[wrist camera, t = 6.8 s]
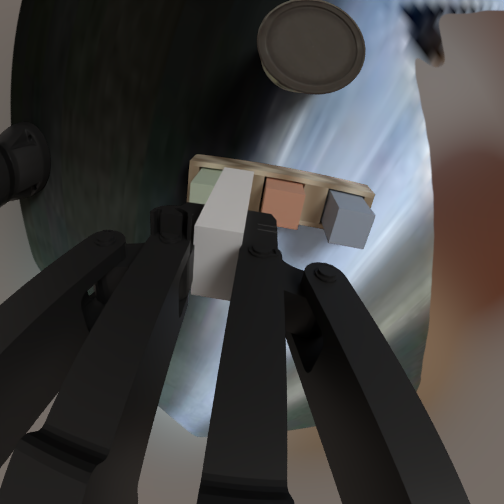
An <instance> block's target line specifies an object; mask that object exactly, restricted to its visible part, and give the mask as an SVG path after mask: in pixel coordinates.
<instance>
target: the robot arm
mask: <svg viewBox="0 0 504 504" xmlns="http://www.w3.org/2000/svg"><path fill="white" fill-rule="evenodd" d="M49 173H50V152H49V148H48V144H47V142H46V139H45V137H44V135H43V134H42V132H41V131H40V130H39V129H38V128H37V127H36V126H35V125H34V124H32V123H29V122H20V123H17V124H14V125H12V126H10V127H8V128H7V129H6V130H5V131H4V132H3V133H1V134H0V207H1V206H3V205H4V204H6V203H7V202H9V201H13V200H18V199H24V198H29V197H31V196H33V195H35V194H36V193H38V192H39V191H40V190H42V188H43V187H44V186H45V184H46V182H47V180H48V177H49ZM253 176H254V172H253V171H247V170H240V169H234V168H227V167H224V169H223V171H222V173H221V175H220V177H219V179H218V181H217V182H216V184H215V186H214V188H213V190H212V192H211V194H210V196H209V198H208V200H207V202H206V204H199V203H192V202H187V203H185V204H183V205H181V206H173V205H167V206H160V207H157V208H154V209H153V210H152V211H150V222H151V235H150V237H149V238H148V240H147V241H146V243H138V244H126V240H125V236H124V235H123V234H122V233H120V232H118V231H113V230H103V231H100V232H97V233H95V234H93V235H91V236H89V237H88V238H86V239H85V240H83V241H82V242H81V243H79V244H78V245H76V246H75V247H73V248H72V249H71V250H69V251H68V252H67V253H65V254H64V255H62V256H61V257H60V258H58V259H57V260H56V261H54V262H53V263H52V264H50V265H49V266H48V267H46V268H45V269H44V270H42V271H41V272H40V273H39V274H37V275H36V276H35V277H33V278H32V279H31V280H30V281H28V282H27V283H26V284H25V285H24V286H22V287H21V288H20V289H19V290H17V291H16V292H15V293H14V294H13V295H12V296H10V297H9V298H8V299H7V300H6V301H4V303H2V304H1V305H0V468H1V466H2V465H3V464H4V462H5V461H6V460H7V459H8V457H9V456H10V455H11V453H12V452H13V450H14V452H13V454H12V457H11V459H10V462H9V465H8V468H7V470H6V473H5V476H4V479H3V482H2V485H1V488H0V504H138V493H137V487H138V481H139V477H140V473H141V468H142V464H143V460H144V456H145V452H146V448H147V444H148V440H149V436H150V433H151V429H152V425H153V421H154V417H155V414H156V410H157V407H158V403H159V399H160V396H161V392H162V389H163V385H164V382H165V378H166V375H167V371H168V368H169V365H170V361H171V358H172V354H173V351H174V348H175V345H176V341H177V338H178V335H179V332H180V328H181V325H182V322H183V319H184V316H185V313H186V309H187V306H188V293H189V290H190V287H191V294H193V295H198V296H204V297H210V298H216V299H222V300H228V301H230V306H229V311H228V317H227V323H226V329H225V335H224V341H223V346H222V352H221V358H220V364H219V370H218V376H217V382H216V389H215V395H214V401H213V407H212V413H211V419H210V426H209V432H208V438H207V446H206V451H205V458H204V464H203V471H202V478H201V483H200V488H199V494H198V499H197V504H294V500H293V499H292V497H291V495H290V494H289V492H288V488H287V377H286V340H287V343H288V346H289V348H290V351H291V354H292V357H293V360H294V363H295V366H296V369H297V372H298V375H299V378H300V380H301V383H302V386H303V389H304V392H305V395H306V398H307V401H308V404H309V407H310V410H311V413H312V416H313V418H314V421H315V424H316V427H317V430H318V433H319V436H320V439H321V442H322V445H323V448H324V451H325V453H326V457H327V460H328V463H329V466H330V469H331V471H332V474H333V477H334V480H335V483H336V486H337V489H338V492H339V495H340V498H341V501H342V504H470V502H469V500H468V497H467V495H466V493H465V491H464V488H463V486H462V483H461V481H460V479H459V477H458V474H457V472H456V470H455V468H454V466H453V463H452V461H451V459H450V457H449V455H448V453H447V451H446V449H445V447H444V445H443V443H442V441H441V439H440V437H439V435H438V433H437V431H436V429H435V427H434V425H433V423H432V421H431V419H430V417H429V415H428V413H427V411H426V410H425V408H424V406H423V404H422V402H421V400H420V398H419V396H418V395H417V393H416V391H415V389H414V387H413V386H412V384H411V382H410V380H409V378H408V377H407V375H406V373H405V371H404V370H403V368H402V366H401V364H400V363H399V361H398V359H397V358H396V356H395V354H394V353H393V351H392V349H391V348H390V346H389V344H388V343H387V341H386V339H385V338H384V336H383V334H382V333H381V331H380V329H379V328H378V326H377V324H376V323H375V321H374V320H373V318H372V316H371V315H370V313H369V312H368V310H367V309H366V307H365V305H364V304H363V302H362V301H361V299H360V298H359V296H358V295H357V293H356V291H355V290H354V288H353V287H352V285H351V284H350V282H349V281H348V279H347V278H346V276H345V275H344V274H343V273H342V272H341V271H340V270H339V269H337V268H336V267H334V266H333V265H329V264H327V263H320V262H317V263H311V264H309V265H307V266H306V268H305V270H304V271H303V270H300V269H297V268H295V267H293V266H290V265H289V264H287V263H285V262H284V261H283V260H282V254H281V252H280V251H279V250H278V242H277V220H276V219H275V218H274V216H273V215H272V214H269V213H263V212H257V211H250V210H248V206H249V200H250V194H251V188H252V182H253ZM92 286H94V290H95V292H94V293H93V294H91V295H88V292H87V290H89V289H90V288H91V287H92ZM285 337H286V339H285ZM58 392H59V393H58ZM57 393H58V395H57ZM55 395H57V397H56V399H55V401H54V403H53V406H52V408H51V410H50V412H49V414H48V417H47V419H46V422H45V424H44V425H43V427H42V428H41V429H40V430H39V431H36V432H30V433H27V434H26V432H27V431H28V430H29V429H30V428H31V426H32V425H33V424H34V422H35V421H36V420H37V419H38V417H39V416H40V414H41V413H42V412H43V411H44V410H45V408H46V407H47V405H48V404H49V403H50V402H51V401H52V399H53V398H54V397H55Z"/></svg>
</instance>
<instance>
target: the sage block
mask: <svg viewBox="0 0 504 504" xmlns="http://www.w3.org/2000/svg"><path fill="white" fill-rule="evenodd" d="M222 171H223V170H221V169H214V168H207V167H202V169H201V170H200V171H199V172H198V174H197V175H196V176H195V178H194V179H193V180H192V182H191V184H190V198H189V202H192V203H199V204H206V202H207V200H208V198H209V196H210V194H211V192H212V190H213V188H214V186H215V184H216V182H217V181H218V179H219V177H220V175H221V173H222Z"/></svg>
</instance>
